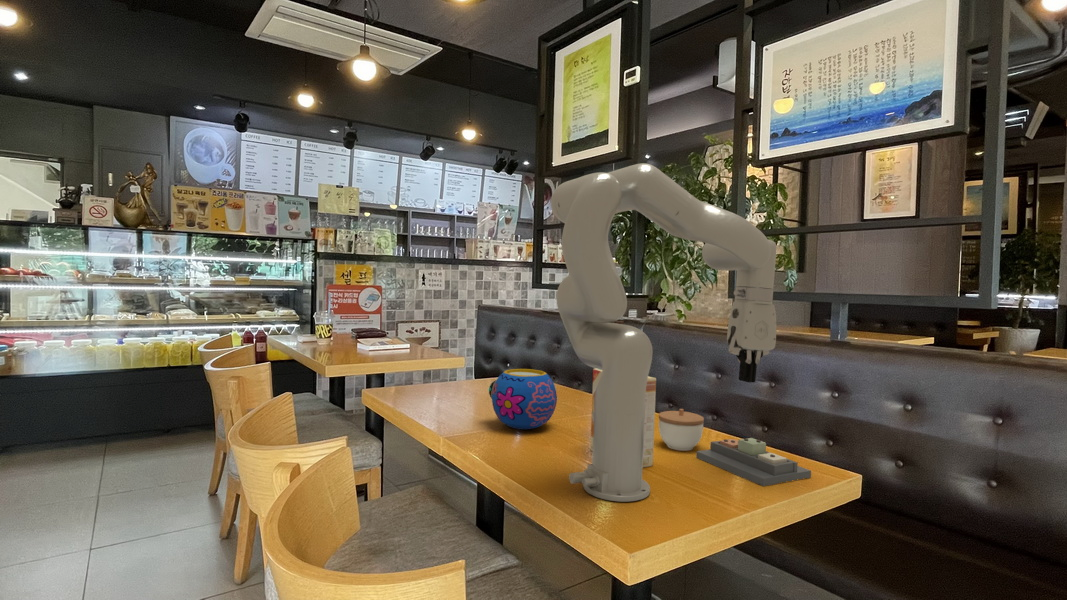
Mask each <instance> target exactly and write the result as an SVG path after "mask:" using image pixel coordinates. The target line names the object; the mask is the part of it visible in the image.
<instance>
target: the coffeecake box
mask: <svg viewBox="0 0 1067 600" xmlns="http://www.w3.org/2000/svg"><path fill="white" fill-rule="evenodd" d="M601 374H602V370H600V369H596V368H593V369H592V390H591V391H592V395H591V396H592V397H591V420H590V421H591V422H590V425H591V426H590V446H589V447H590V449H589V451H591V452H593V434H594V409H595V408H594V402H595V392H596V388H597V384H598V382H599V379H600V377H601ZM656 389H657V378H656V377H653V376H649V375H648V379H647V385H646V396H645V421H644V445H643V468H647V467H652V466H654V465H653V464H654V444H655V443H654V441H655V439H654V438H655V420H656V419H655V418H656V398H657V397H656V395H657V394H656V393H657V392H656V391H657V390H656Z"/></svg>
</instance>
